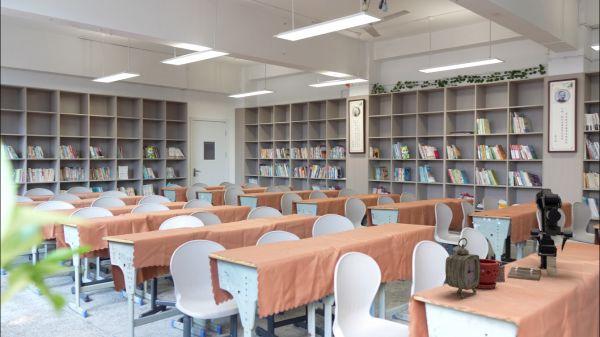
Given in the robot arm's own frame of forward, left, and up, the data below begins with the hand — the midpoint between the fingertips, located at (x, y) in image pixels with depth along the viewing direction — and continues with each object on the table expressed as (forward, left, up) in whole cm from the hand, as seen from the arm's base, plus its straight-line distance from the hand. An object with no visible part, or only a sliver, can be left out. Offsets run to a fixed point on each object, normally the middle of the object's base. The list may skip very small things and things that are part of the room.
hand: (551, 250), depth 243 cm
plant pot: (+35, -27, -13) cm, 46 cm away
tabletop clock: (+53, -33, -13) cm, 64 cm away
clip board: (+4, -12, -13) cm, 18 cm away
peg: (0, 0, -13) cm, 13 cm away
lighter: (+23, -23, -13) cm, 35 cm away
